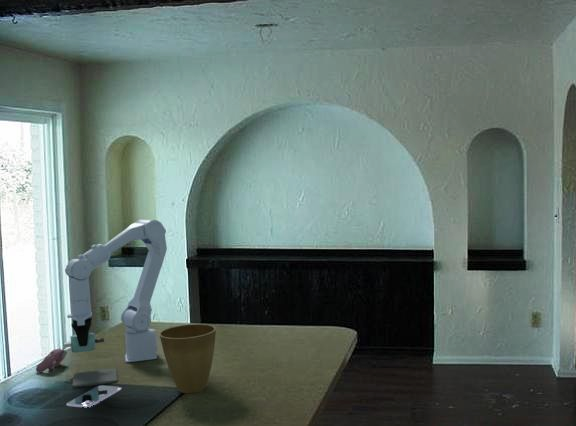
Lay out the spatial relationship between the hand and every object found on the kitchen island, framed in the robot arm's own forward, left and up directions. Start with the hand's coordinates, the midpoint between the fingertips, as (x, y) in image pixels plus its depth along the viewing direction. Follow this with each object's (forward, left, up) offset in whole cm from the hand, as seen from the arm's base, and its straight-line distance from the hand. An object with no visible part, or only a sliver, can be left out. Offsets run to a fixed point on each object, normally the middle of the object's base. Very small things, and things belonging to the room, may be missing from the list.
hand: (83, 343), depth 199 cm
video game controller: (+10, -6, -8) cm, 14 cm away
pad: (-3, +10, -8) cm, 13 cm away
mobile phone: (-3, +26, -9) cm, 28 cm away
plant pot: (-28, +30, -8) cm, 42 cm away
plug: (0, 0, -2) cm, 2 cm away
